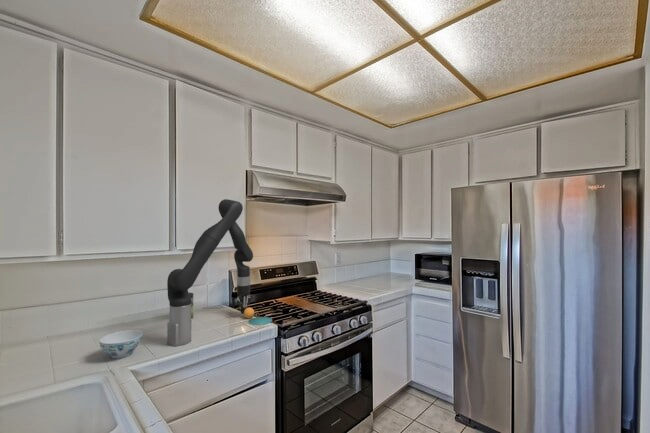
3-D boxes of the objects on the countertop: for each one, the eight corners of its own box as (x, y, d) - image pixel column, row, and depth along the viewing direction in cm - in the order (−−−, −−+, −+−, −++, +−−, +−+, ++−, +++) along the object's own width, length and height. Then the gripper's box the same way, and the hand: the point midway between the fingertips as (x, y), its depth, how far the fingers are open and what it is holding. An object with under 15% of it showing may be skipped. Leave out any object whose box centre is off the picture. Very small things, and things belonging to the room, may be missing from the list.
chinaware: (130, 345, 140) (130, 327, 140) (149, 352, 132) (149, 334, 132) (91, 358, 127) (92, 338, 127) (110, 366, 119) (110, 346, 119)
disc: (261, 326, 164) (261, 325, 164) (243, 322, 171) (243, 322, 171) (277, 319, 175) (277, 319, 175) (259, 316, 182) (259, 315, 182)
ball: (242, 320, 176) (250, 317, 173) (240, 309, 177) (248, 306, 175) (249, 318, 181) (257, 316, 179) (247, 308, 183) (255, 305, 180)
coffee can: (197, 317, 180) (197, 292, 180) (185, 322, 170) (186, 297, 170) (181, 316, 182) (181, 292, 182) (169, 321, 172) (169, 296, 172)
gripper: (240, 287, 172) (240, 318, 172) (256, 282, 184) (256, 311, 184) (230, 285, 176) (230, 316, 176) (246, 281, 187) (246, 309, 188)
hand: (243, 313), depth 180 cm, fingers closed
